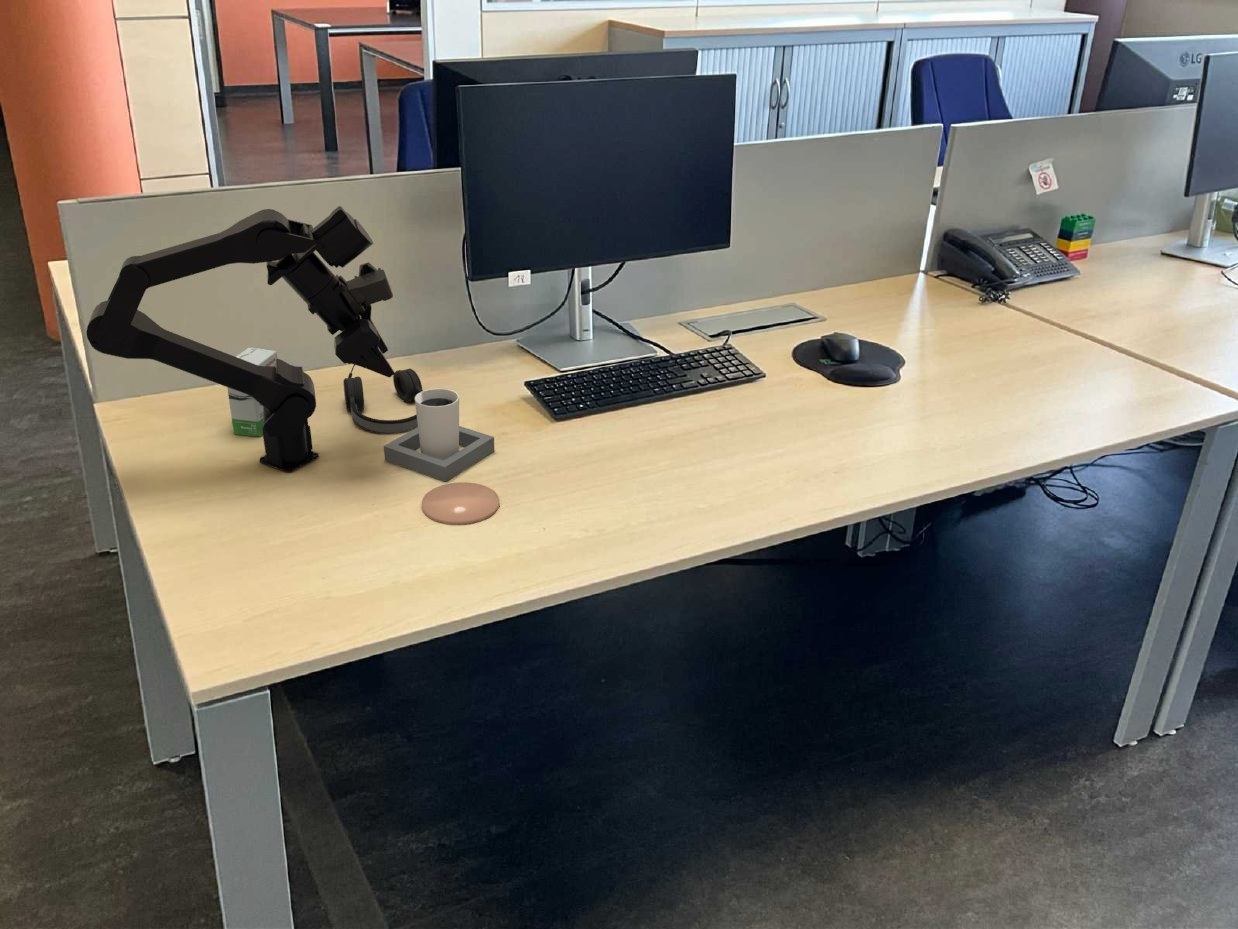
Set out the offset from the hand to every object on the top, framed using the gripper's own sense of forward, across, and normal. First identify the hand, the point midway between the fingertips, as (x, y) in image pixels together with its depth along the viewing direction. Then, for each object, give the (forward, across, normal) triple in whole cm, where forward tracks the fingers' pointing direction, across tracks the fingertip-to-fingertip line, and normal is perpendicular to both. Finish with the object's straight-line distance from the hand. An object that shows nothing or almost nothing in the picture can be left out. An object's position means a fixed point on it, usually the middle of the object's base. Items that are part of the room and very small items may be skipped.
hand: (388, 363), depth 164 cm
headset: (+12, +15, +9) cm, 21 cm away
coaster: (+16, -20, +3) cm, 25 cm away
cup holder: (+16, -4, +3) cm, 16 cm away
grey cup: (+16, -4, +3) cm, 17 cm away
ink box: (0, +14, +25) cm, 29 cm away
